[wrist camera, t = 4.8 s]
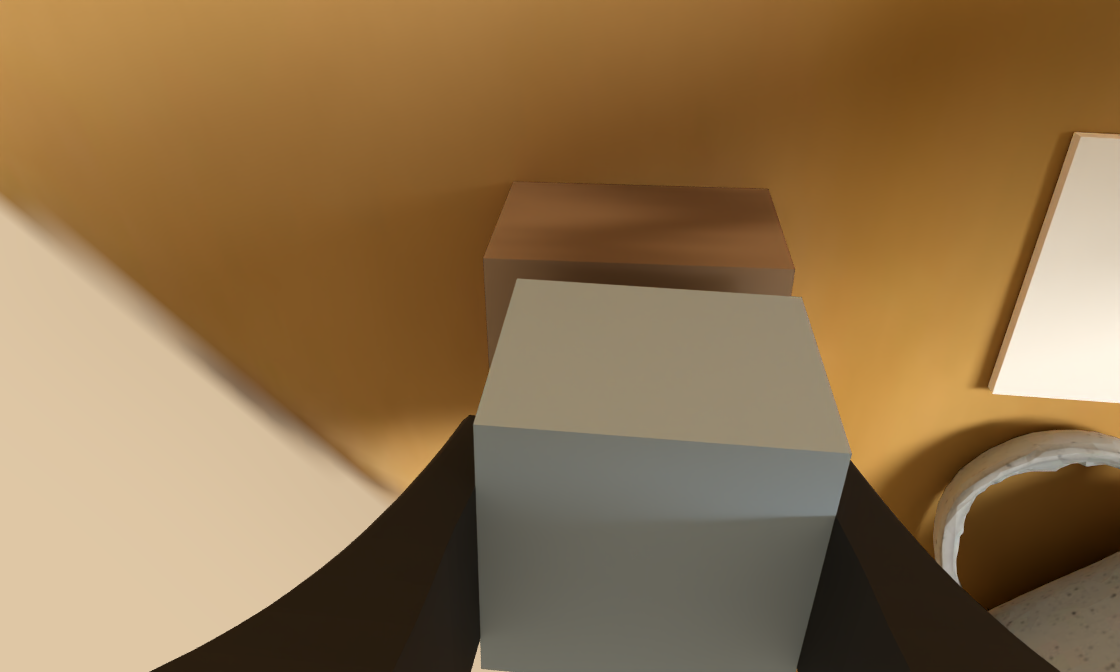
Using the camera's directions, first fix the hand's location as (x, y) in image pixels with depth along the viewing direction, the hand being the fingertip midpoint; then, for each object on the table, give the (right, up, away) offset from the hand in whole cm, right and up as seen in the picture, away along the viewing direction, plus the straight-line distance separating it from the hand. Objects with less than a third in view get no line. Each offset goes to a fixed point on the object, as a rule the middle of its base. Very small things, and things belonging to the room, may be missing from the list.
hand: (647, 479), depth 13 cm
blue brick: (0, +1, +2) cm, 2 cm away
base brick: (0, +3, +6) cm, 7 cm away
